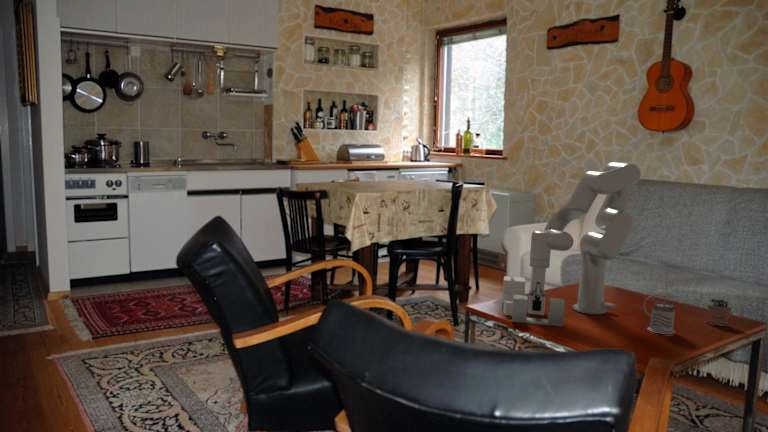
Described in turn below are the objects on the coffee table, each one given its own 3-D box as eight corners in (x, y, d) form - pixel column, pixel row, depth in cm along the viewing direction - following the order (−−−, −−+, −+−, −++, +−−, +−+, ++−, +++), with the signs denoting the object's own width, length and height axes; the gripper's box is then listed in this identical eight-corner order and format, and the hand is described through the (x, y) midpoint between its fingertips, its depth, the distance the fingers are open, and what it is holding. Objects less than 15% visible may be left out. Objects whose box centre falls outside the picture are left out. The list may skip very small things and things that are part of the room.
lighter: (728, 325, 243) (731, 299, 242) (730, 327, 240) (733, 301, 239) (704, 322, 246) (707, 296, 245) (706, 324, 243) (709, 298, 241)
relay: (513, 313, 248) (514, 300, 247) (516, 316, 244) (516, 303, 243) (503, 312, 248) (504, 300, 247) (505, 315, 244) (506, 302, 243)
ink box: (523, 311, 251) (525, 277, 250) (501, 309, 253) (503, 275, 251) (523, 305, 260) (525, 273, 258) (502, 303, 261) (504, 271, 260)
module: (543, 311, 252) (545, 291, 251) (544, 315, 247) (545, 294, 246) (528, 309, 253) (529, 290, 252) (528, 313, 248) (529, 293, 247)
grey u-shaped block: (561, 322, 237) (563, 298, 236) (562, 327, 231) (564, 303, 230) (512, 317, 241) (513, 294, 240) (511, 322, 235) (513, 298, 234)
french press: (674, 337, 225) (681, 267, 222) (639, 330, 231) (645, 262, 228) (678, 330, 233) (684, 262, 230) (644, 324, 239) (650, 258, 236)
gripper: (529, 257, 257) (526, 302, 259) (529, 266, 240) (526, 313, 242) (548, 259, 255) (545, 303, 257) (550, 267, 238) (547, 315, 241)
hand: (536, 307), depth 250 cm, fingers closed on module, 5 cm apart
